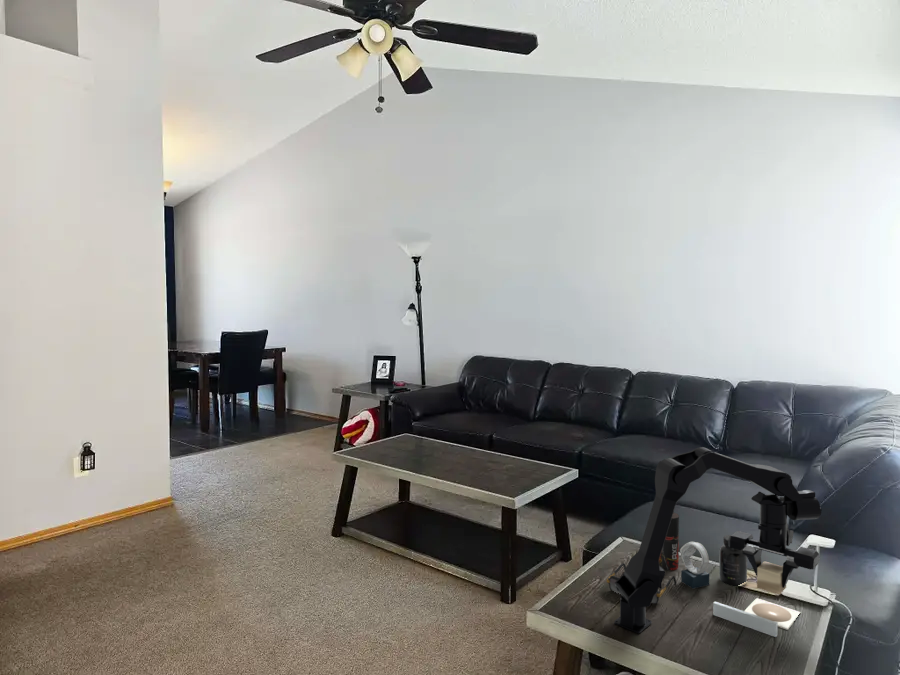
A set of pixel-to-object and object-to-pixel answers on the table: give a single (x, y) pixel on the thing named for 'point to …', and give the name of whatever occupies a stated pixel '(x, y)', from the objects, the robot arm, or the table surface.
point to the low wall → (745, 619)
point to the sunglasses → (613, 579)
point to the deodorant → (671, 546)
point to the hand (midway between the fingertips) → (771, 583)
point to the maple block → (770, 577)
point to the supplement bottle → (732, 564)
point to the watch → (692, 574)
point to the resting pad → (773, 612)
